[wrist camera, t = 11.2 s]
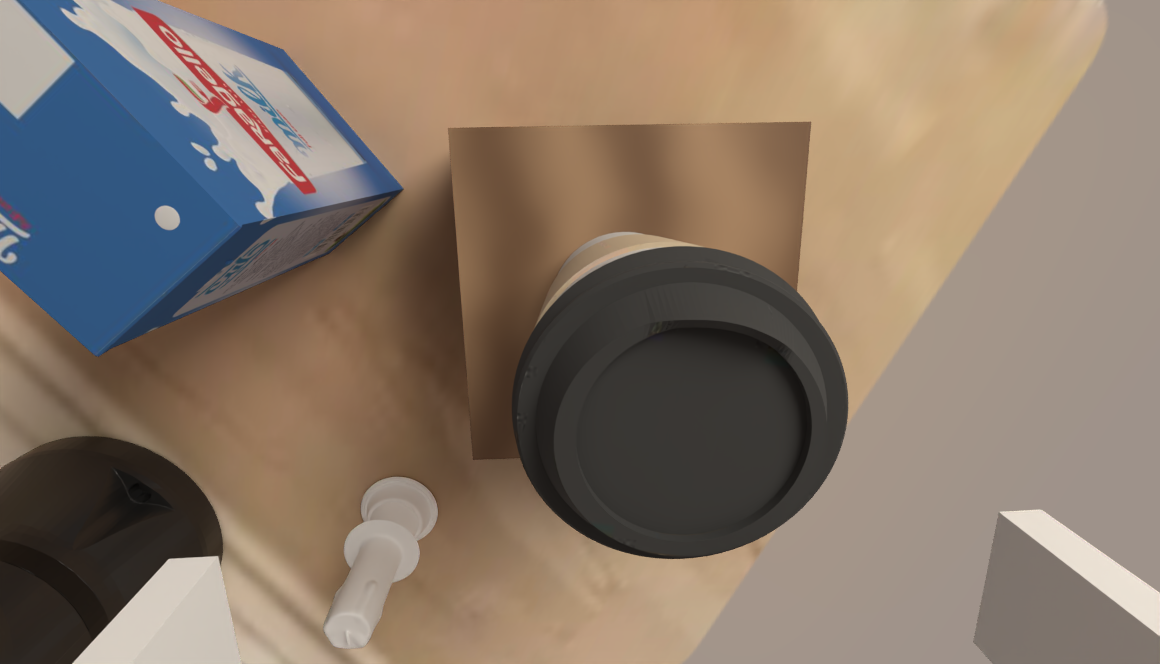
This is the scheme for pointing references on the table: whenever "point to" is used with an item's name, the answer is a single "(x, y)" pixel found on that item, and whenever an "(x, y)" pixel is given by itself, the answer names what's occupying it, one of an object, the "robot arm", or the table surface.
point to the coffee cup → (676, 398)
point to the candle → (379, 556)
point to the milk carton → (162, 164)
